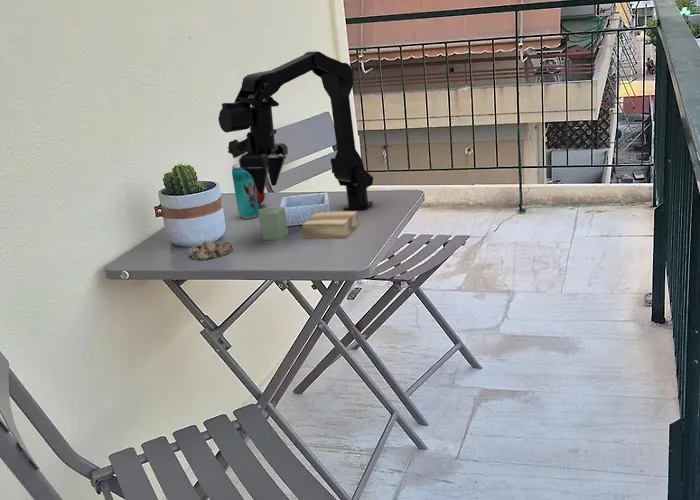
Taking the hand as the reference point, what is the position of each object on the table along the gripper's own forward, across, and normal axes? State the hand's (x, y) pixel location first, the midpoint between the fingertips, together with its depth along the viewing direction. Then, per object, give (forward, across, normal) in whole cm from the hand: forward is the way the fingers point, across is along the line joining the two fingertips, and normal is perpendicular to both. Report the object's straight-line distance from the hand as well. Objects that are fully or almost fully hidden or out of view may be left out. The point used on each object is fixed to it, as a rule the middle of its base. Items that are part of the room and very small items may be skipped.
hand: (267, 189), depth 189 cm
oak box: (+12, -4, +15) cm, 20 cm away
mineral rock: (+14, +12, -12) cm, 22 cm away
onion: (+12, -28, -15) cm, 34 cm away
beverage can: (+12, -19, -14) cm, 26 cm away
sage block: (+13, -1, 0) cm, 13 cm away
